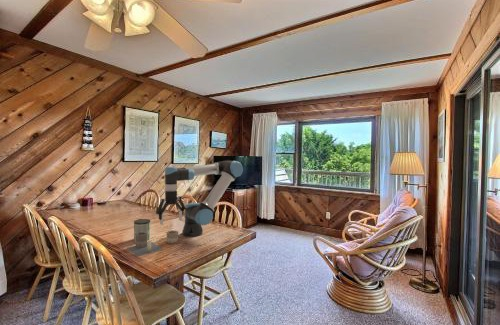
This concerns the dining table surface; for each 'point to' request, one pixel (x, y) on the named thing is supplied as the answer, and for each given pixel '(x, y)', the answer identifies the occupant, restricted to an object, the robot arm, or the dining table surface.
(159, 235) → the dining table surface
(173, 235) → the cream sleeve
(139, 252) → the pin board
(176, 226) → the dining table surface
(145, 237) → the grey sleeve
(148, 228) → the coffee can
